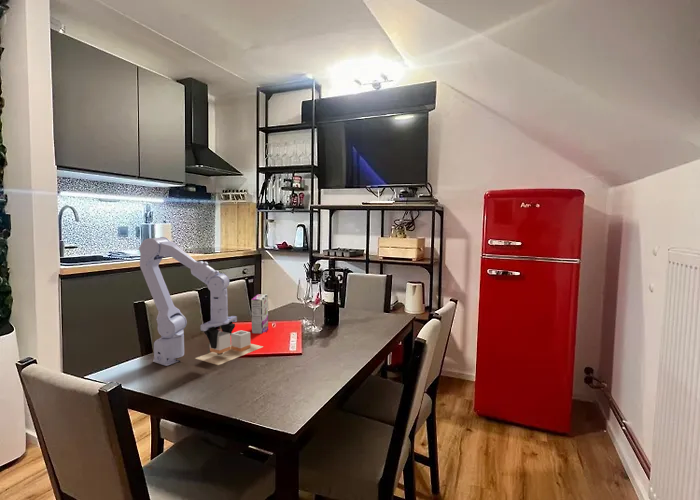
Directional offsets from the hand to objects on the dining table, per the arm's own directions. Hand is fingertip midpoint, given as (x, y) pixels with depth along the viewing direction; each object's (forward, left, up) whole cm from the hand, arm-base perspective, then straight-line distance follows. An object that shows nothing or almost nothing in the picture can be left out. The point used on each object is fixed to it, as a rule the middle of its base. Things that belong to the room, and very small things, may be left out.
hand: (219, 345), depth 137 cm
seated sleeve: (+10, 0, -4) cm, 11 cm away
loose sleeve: (0, 0, -2) cm, 2 cm away
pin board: (+5, 0, -5) cm, 7 cm away
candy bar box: (+32, +11, -6) cm, 34 cm away
